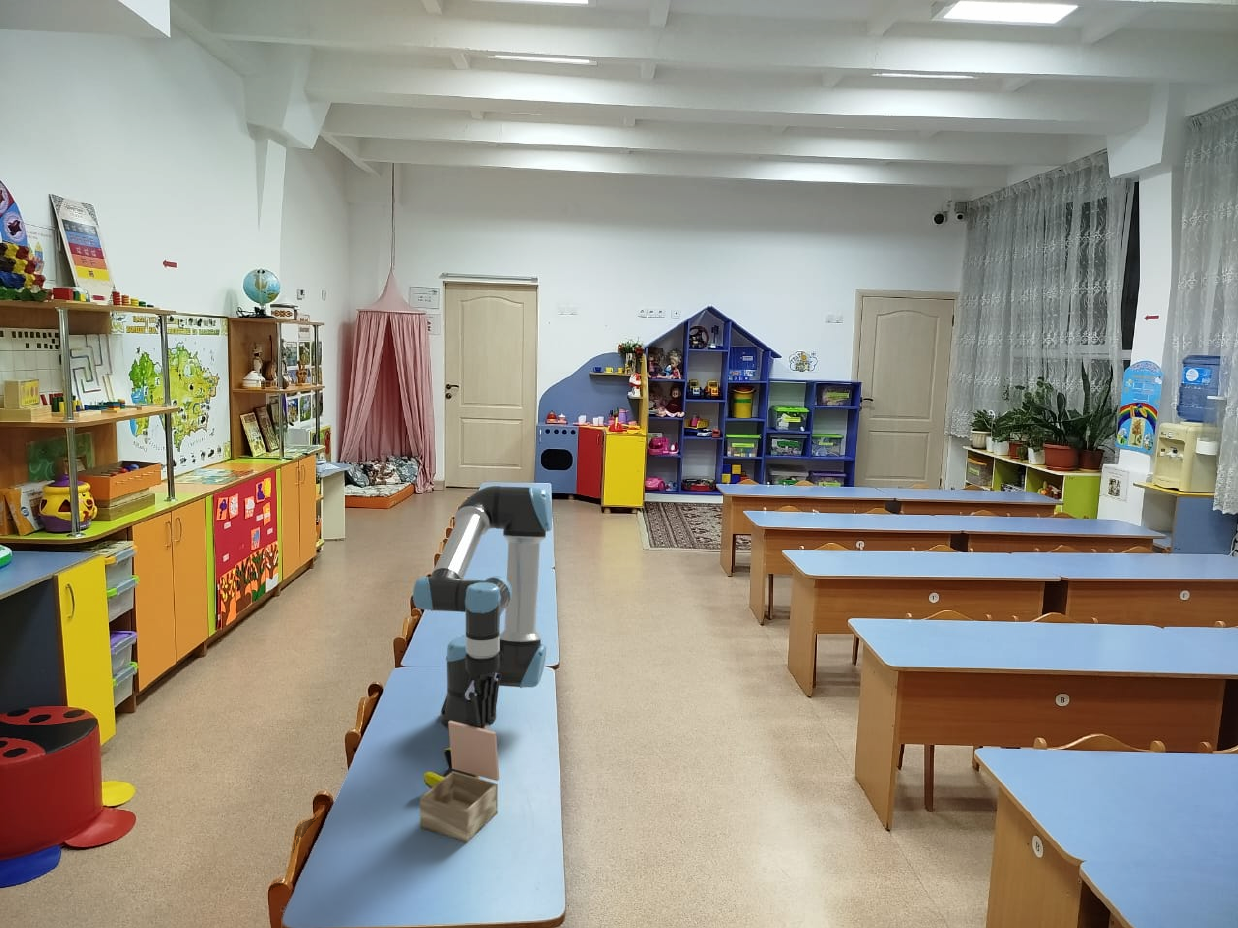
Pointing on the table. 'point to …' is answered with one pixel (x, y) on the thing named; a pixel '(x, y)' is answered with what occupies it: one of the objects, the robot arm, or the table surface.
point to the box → (459, 806)
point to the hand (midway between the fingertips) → (482, 751)
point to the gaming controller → (434, 779)
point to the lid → (474, 750)
